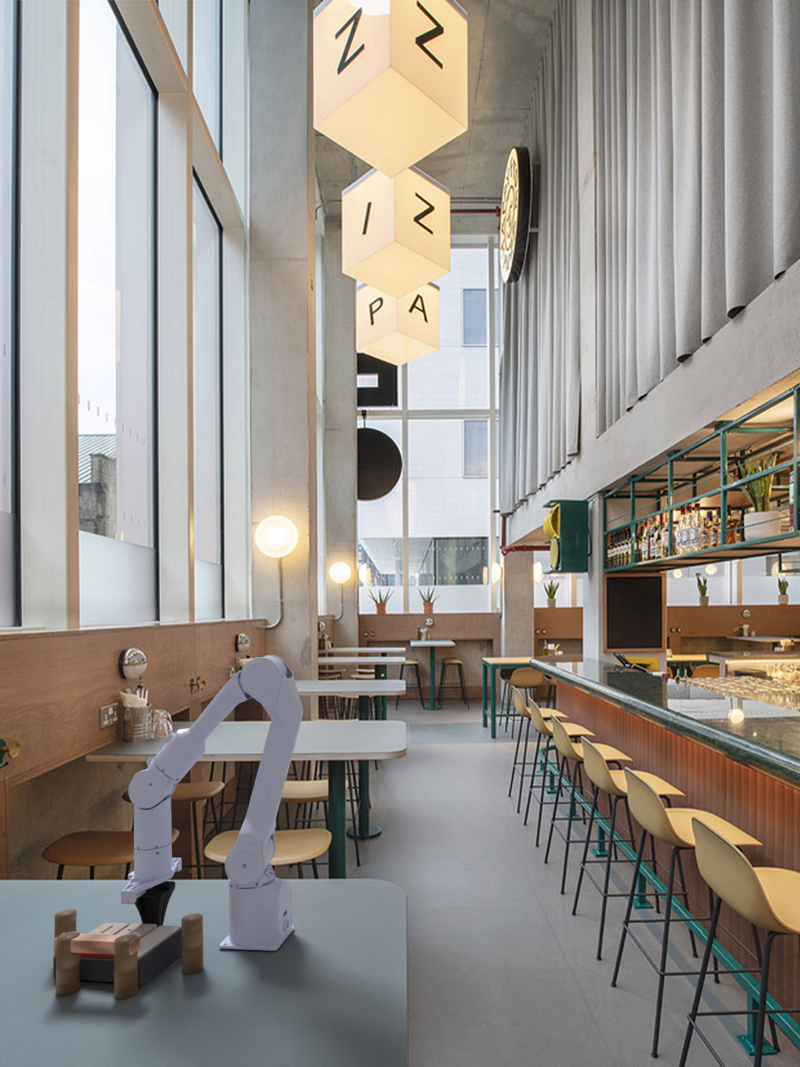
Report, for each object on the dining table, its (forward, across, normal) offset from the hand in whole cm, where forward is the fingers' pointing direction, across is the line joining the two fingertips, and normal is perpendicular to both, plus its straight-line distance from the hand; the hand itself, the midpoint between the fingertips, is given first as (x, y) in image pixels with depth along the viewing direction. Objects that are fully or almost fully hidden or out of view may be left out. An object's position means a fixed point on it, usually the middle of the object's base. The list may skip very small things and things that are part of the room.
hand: (153, 934), depth 109 cm
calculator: (+2, +7, -1) cm, 7 cm away
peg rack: (+1, +11, 0) cm, 11 cm away
